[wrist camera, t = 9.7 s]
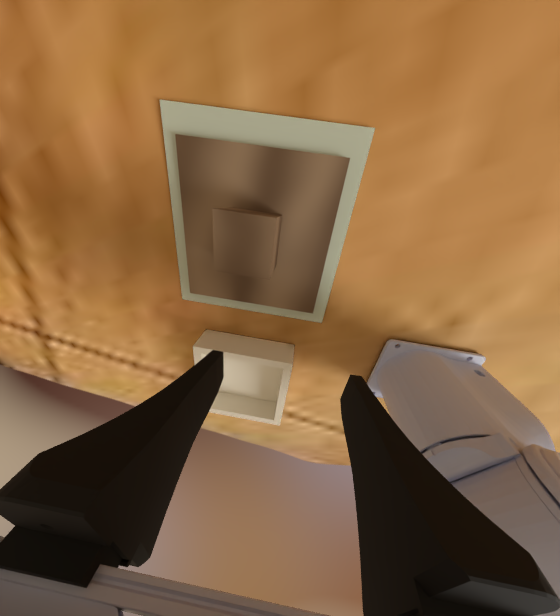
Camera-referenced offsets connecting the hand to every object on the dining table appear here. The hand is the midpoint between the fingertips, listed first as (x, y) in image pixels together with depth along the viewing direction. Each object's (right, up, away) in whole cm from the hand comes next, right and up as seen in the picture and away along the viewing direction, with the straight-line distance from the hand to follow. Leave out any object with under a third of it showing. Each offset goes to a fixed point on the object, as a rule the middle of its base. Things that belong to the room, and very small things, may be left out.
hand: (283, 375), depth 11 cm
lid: (-2, +10, +5) cm, 11 cm away
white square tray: (-4, -4, +13) cm, 14 cm away
